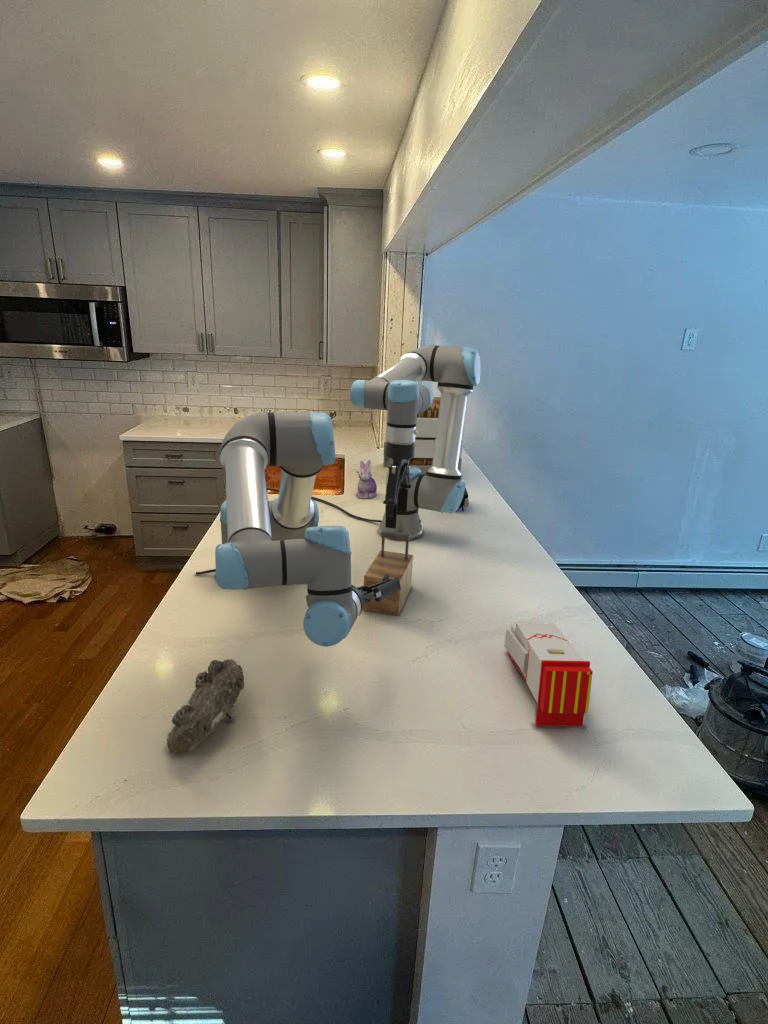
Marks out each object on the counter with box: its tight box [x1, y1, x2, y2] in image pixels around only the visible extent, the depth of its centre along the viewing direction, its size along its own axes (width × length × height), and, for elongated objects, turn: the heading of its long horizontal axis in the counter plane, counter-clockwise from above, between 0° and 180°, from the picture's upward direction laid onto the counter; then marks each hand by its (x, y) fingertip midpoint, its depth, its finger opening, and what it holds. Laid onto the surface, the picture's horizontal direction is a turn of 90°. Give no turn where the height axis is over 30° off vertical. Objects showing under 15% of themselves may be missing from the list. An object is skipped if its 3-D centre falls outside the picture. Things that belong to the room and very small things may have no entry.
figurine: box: [356, 459, 378, 499], centre depth 236 cm, size 9×10×15 cm
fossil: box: [166, 658, 245, 754], centre depth 106 cm, size 22×10×15 cm
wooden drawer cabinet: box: [383, 396, 465, 474], centre depth 268 cm, size 34×33×41 cm
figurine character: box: [458, 486, 470, 512], centre depth 229 cm, size 7×8×15 cm
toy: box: [503, 622, 594, 727], centre depth 121 cm, size 12×13×30 cm
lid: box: [363, 531, 414, 585], centre depth 151 cm, size 17×10×8 cm, turn 166°
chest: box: [362, 559, 414, 616], centre depth 154 cm, size 17×10×9 cm, turn 166°
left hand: (358, 586), depth 127 cm, fingers open, 13 cm apart
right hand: (396, 519), depth 154 cm, fingers open, 13 cm apart
